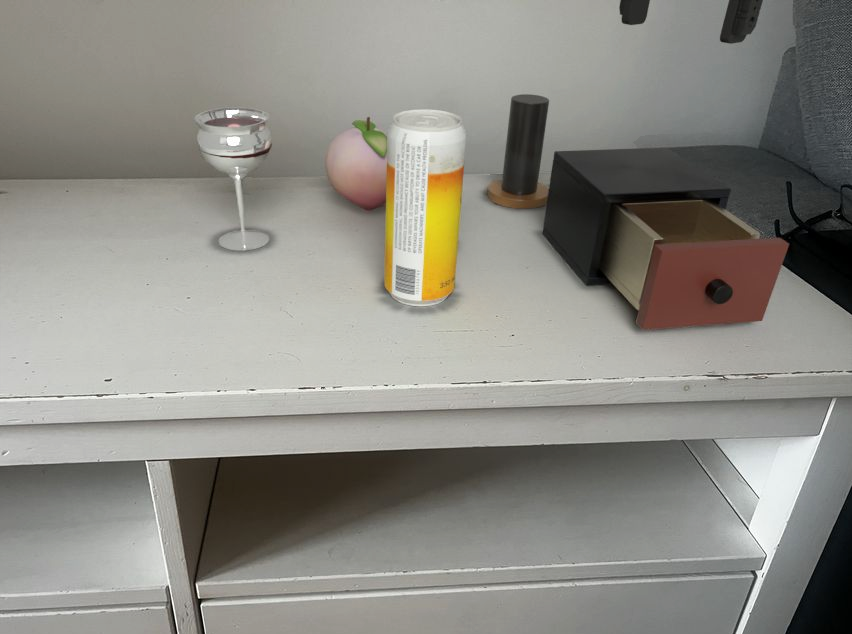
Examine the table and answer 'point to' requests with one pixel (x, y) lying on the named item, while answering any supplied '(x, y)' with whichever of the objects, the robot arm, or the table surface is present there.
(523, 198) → the disc
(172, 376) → the table surface
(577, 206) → the drawer cabinet
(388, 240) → the beer can
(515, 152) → the dark grey cylinder
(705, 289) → the cabinet drawer
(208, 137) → the wineglass
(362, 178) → the decorative fruit
